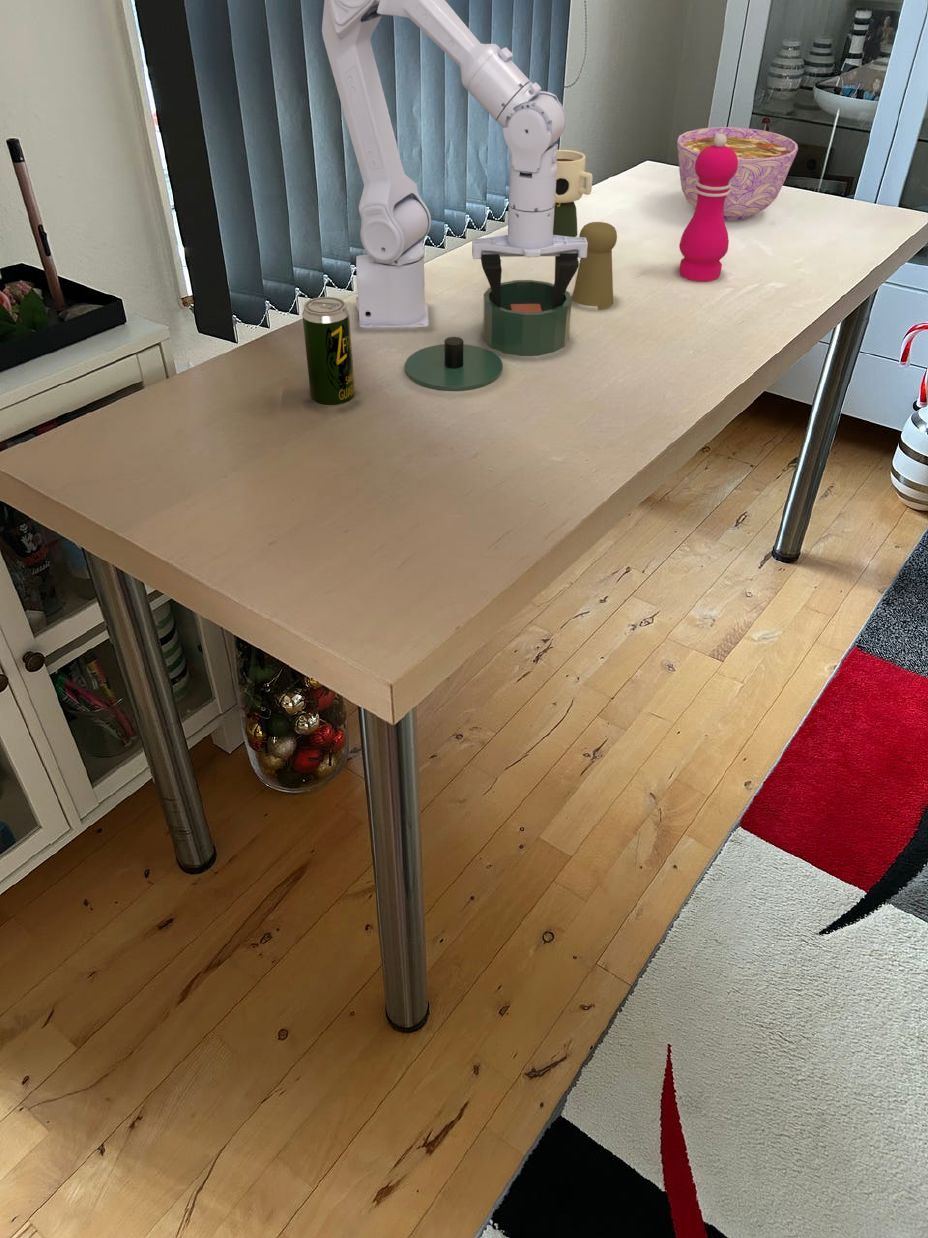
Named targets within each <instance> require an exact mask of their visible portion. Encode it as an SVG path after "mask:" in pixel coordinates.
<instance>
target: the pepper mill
mask: <svg viewBox="0 0 928 1238" xmlns="http://www.w3.org/2000/svg"><path fill="white" fill-rule="evenodd" d="M726 141H727V139H726V136H725V135H723V134H718V135H717V136H716V137H715V138H714V145H711V146H708V147H706V148H704V149H703V150H702V151H701V152H700V153H699V155H698V157H697V159H696V163H695V172H696V174H697V176H698V177H699V180H697V181H696V188H695V191H696V192H697V193H698V194H697V204H696V208H695V209H694V212H693V214H692V217H691V218H690V220H689V222H688V224H687V226H686V227H685V228H684V231H683V232H682V235H681V237H680V241H679V245H678V246H679V251H680V253H681V255H682V256H683V258H681V260H680V262H679V269H678V273H679V274H680V276H681V277H682V278H684V279H686V280H690V281H693V282H694V281H695V282H712V281H715V280H718V279H719V278H720V277H721V274H722V273H721V272H722V267H723V263H722V262H721V261H720V260H722V259H723V258H724V257H725V255H726V254H727V253H728V251H729V241H730V239H729V233H728V229H727V225H726V220H724V213H723V210H724V202H725V198H726V195H728V194H729V193H730V190H729V189H730V187H731V183H730V182H729V181H730V179H731V178H732V177H733V176H734V175H735V174H736V171H737V168H738V158H737V155H736V153H735V152H734V151H733V150H732V149H731V148H729V147H727V146H724V145H725V144H726Z"/></svg>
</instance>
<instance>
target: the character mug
mask: <svg viewBox="0 0 928 1238" xmlns="http://www.w3.org/2000/svg"><path fill="white" fill-rule="evenodd" d="M586 161H587V160H586V155H585V154H584V153H583V152H581V151H577V150H573V149H572V150H571V149H558V151H557V177H556V193H555V208H554V224H553V235H559V236H568V237H578V214H577V205H576V203H575V202H576V201H579V200H580V199H581V198H583V195H585V196H589V195H591V193H592V190H593V174H592V173H591V172H587V171H586ZM584 185H585V187H584Z"/></svg>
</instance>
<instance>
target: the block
mask: <svg viewBox="0 0 928 1238" xmlns="http://www.w3.org/2000/svg"><path fill="white" fill-rule="evenodd" d="M510 310H511V311H518V312H542V309H541V306H540V304H511V305H510Z"/></svg>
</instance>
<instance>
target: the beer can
mask: <svg viewBox="0 0 928 1238" xmlns="http://www.w3.org/2000/svg"><path fill="white" fill-rule="evenodd" d="M302 306H303V310H302V313H301V315H302V316H301V317H302V325H303V333H304V344H305V355H306V364H307V374H308V383H309V393H310V399H311V401H312V402H313V403H315V404H316V405H319V406H321V407H329V408H332V407H340V406H345V405H347V404H350V402H352V401H353V400H354V398H355V396H356V389H355V388H356V387H355V375H354V374H355V373H354V361H353V350H352V348H353V347H352V333H351V321H350V312H349V309H348V307H347V302H346V301H345V300H344V299H342V298H339V297H334V296H319V297H314V298H311V299H309V300H307V301H306V302H304V303H303V304H302Z"/></svg>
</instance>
